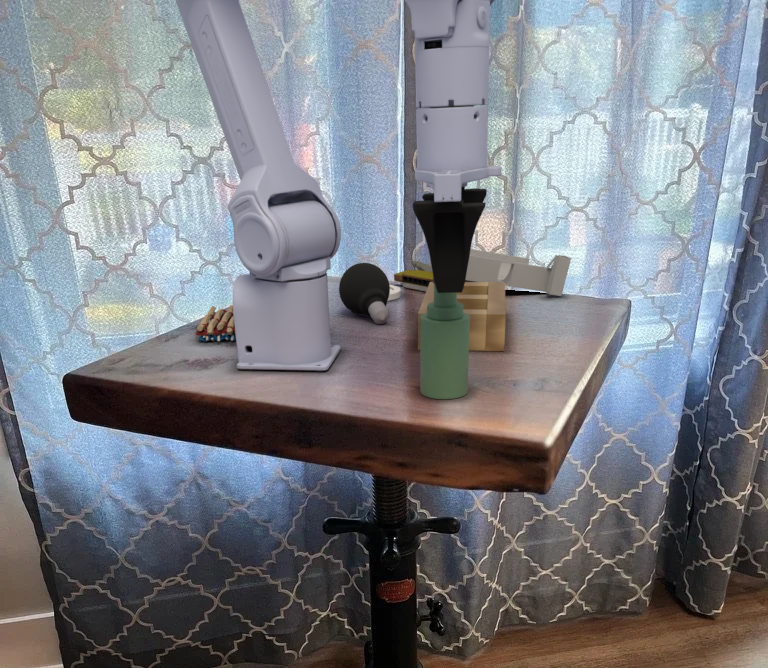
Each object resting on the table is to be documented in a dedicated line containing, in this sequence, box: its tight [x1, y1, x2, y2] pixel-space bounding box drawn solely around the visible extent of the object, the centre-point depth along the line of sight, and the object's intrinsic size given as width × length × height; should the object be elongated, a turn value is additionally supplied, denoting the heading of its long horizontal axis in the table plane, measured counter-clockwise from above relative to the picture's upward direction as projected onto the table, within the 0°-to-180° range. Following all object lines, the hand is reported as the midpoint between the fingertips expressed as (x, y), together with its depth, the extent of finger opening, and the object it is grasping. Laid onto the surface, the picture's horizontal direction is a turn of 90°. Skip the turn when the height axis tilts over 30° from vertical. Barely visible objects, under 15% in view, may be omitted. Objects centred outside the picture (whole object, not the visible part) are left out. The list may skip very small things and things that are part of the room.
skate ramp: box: [428, 243, 572, 297], centre depth 109 cm, size 15×13×5 cm
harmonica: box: [393, 269, 475, 293], centre depth 111 cm, size 15×3×2 cm, turn 40°
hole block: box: [417, 282, 507, 352], centre depth 91 cm, size 9×17×4 cm, turn 173°
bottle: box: [419, 277, 470, 400], centre depth 70 cm, size 4×4×10 cm
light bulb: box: [338, 262, 391, 325], centre depth 97 cm, size 6×6×10 cm
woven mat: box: [195, 304, 236, 343], centre depth 93 cm, size 10×11×2 cm
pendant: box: [387, 284, 402, 302], centre depth 111 cm, size 7×11×1 cm, turn 34°
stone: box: [411, 260, 433, 272], centre depth 120 cm, size 13×2×5 cm
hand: (452, 283), depth 68 cm, fingers open, 7 cm apart
